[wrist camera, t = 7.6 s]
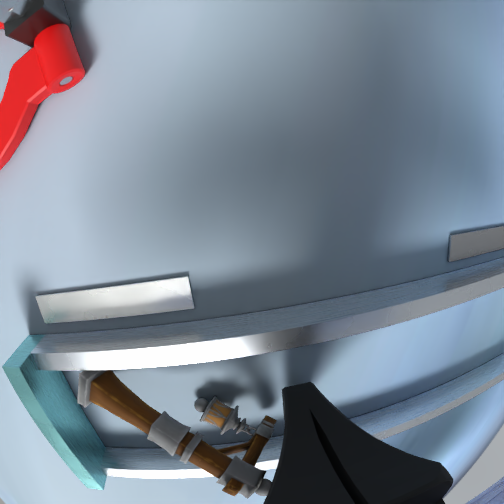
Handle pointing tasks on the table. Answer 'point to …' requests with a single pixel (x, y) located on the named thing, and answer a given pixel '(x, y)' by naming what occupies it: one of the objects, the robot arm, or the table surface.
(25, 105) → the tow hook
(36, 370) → the guide rail
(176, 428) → the wooden post with brackets
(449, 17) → the table surface
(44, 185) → the table surface
